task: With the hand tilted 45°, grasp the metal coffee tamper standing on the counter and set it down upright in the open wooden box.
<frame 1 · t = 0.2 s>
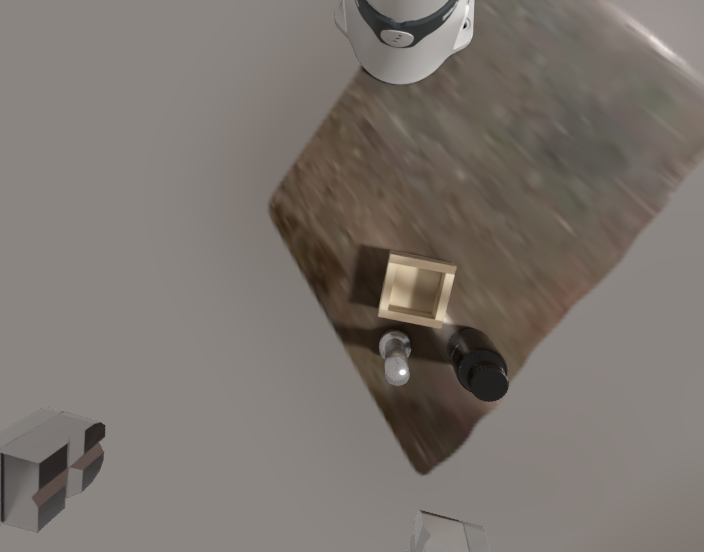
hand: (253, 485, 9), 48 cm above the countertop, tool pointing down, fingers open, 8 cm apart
open wooden box: (413, 285, 56), on the countertop
metal coffee tamper: (394, 343, 58), on the countertop
supplement bottle: (467, 347, 57), on the countertop
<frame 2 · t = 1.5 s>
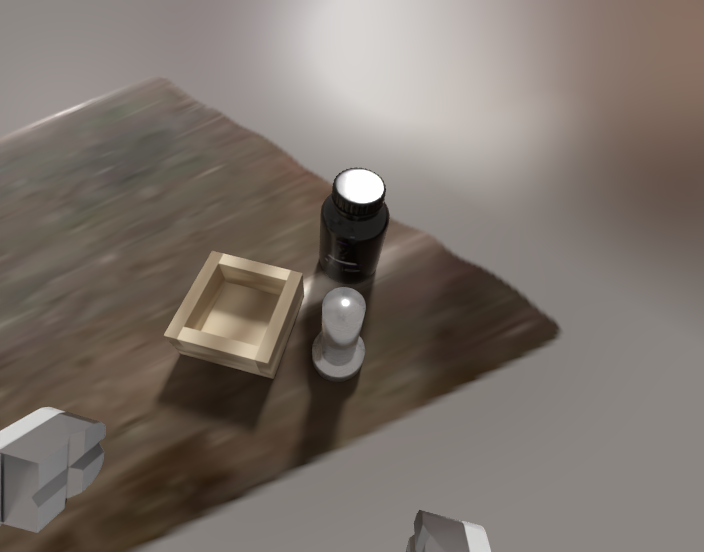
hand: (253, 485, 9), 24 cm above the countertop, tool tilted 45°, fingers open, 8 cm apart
open wooden box: (246, 322, 37), on the countertop
metal coffee tamper: (337, 356, 36), on the countertop
supplement bottle: (348, 262, 42), on the countertop
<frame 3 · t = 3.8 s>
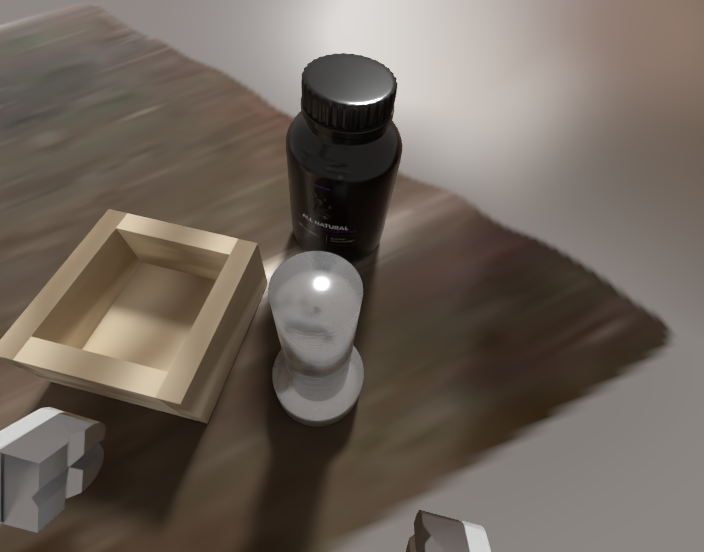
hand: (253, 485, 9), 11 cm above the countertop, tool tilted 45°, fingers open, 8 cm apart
open wooden box: (169, 327, 23), on the countertop
metal coffee tamper: (318, 382, 21), on the countertop
supplement bottle: (338, 233, 28), on the countertop
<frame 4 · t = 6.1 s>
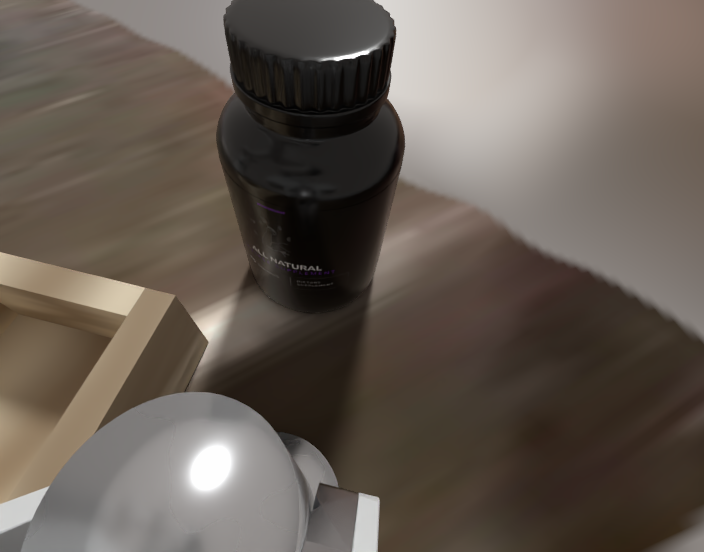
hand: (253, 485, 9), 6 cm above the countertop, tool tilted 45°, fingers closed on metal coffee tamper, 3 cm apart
open wooden box: (51, 418, 15), on the countertop
metal coffee tamper: (273, 511, 14), on the countertop, touching gripper
supplement bottle: (316, 264, 20), on the countertop
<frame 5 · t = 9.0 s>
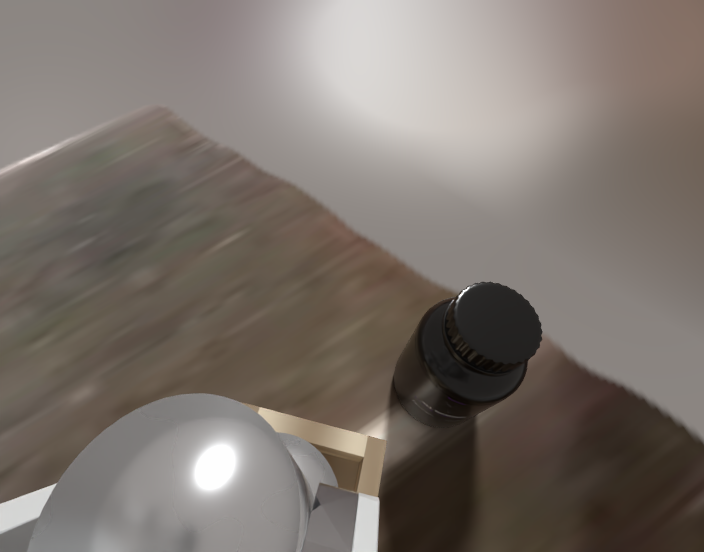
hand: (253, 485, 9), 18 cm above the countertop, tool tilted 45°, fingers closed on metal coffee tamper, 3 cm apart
open wooden box: (294, 508, 24), on the countertop
metal coffee tamper: (274, 511, 14), point 12 cm above the countertop, touching gripper
supplement bottle: (434, 385, 29), on the countertop
when the fingers open (8 cm above the countertop, at t = 11.8 s): metal coffee tamper stays where it is, resting on open wooden box.
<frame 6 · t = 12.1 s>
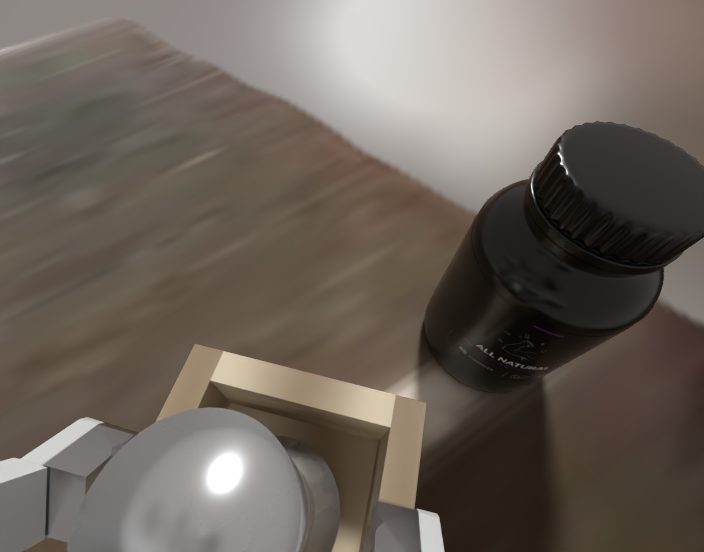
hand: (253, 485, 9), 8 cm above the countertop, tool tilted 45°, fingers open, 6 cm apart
open wooden box: (279, 511, 15), on the countertop
metal coffee tamper: (276, 511, 14), point 1 cm above the countertop, touching open wooden box
supplement bottle: (480, 336, 21), on the countertop
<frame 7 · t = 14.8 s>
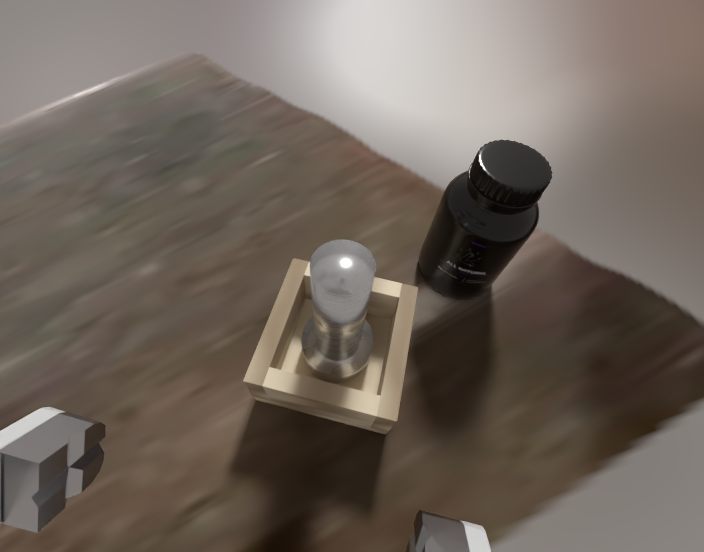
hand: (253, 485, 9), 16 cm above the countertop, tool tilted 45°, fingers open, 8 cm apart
open wooden box: (336, 354, 27), on the countertop
metal coffee tamper: (336, 349, 27), point 1 cm above the countertop, touching open wooden box
supplement bottle: (454, 270, 33), on the countertop
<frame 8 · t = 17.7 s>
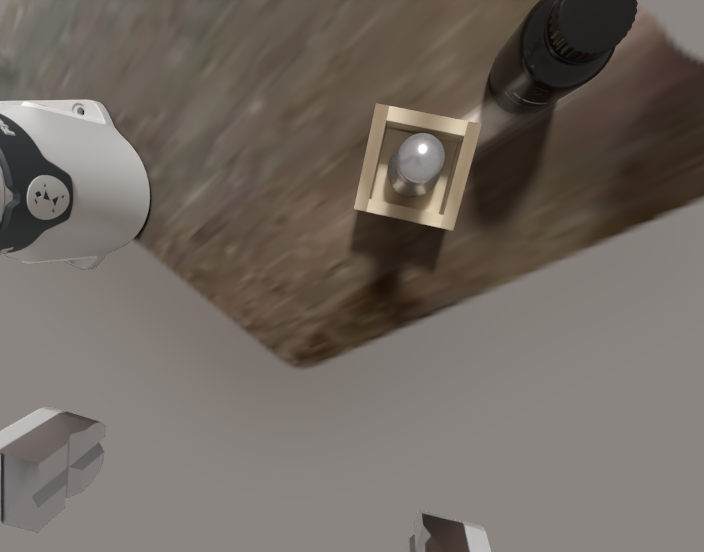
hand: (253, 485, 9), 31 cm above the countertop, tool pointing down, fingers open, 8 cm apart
open wooden box: (412, 172, 37), on the countertop
metal coffee tamper: (412, 171, 36), point 1 cm above the countertop, touching open wooden box
supplement bottle: (525, 79, 34), on the countertop
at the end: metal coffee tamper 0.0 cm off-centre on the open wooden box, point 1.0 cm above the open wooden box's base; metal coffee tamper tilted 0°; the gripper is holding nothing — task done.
